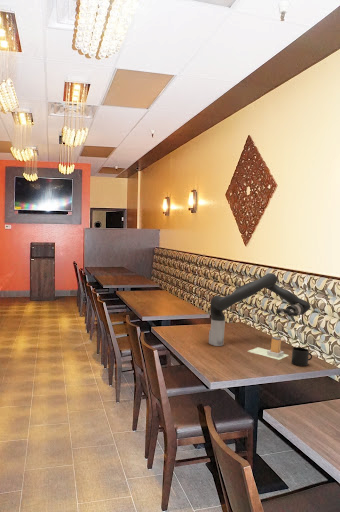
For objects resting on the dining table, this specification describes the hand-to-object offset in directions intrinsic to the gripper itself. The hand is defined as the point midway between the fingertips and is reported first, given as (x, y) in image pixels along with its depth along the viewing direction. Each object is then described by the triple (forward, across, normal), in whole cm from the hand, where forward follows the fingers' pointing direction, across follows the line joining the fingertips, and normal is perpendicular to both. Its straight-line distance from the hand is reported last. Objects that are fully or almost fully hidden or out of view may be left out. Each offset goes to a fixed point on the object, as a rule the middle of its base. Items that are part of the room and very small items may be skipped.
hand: (282, 313), depth 275 cm
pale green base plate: (+13, -2, +26) cm, 29 cm away
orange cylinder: (+13, +3, +24) cm, 28 cm away
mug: (+12, +20, +26) cm, 35 cm away
